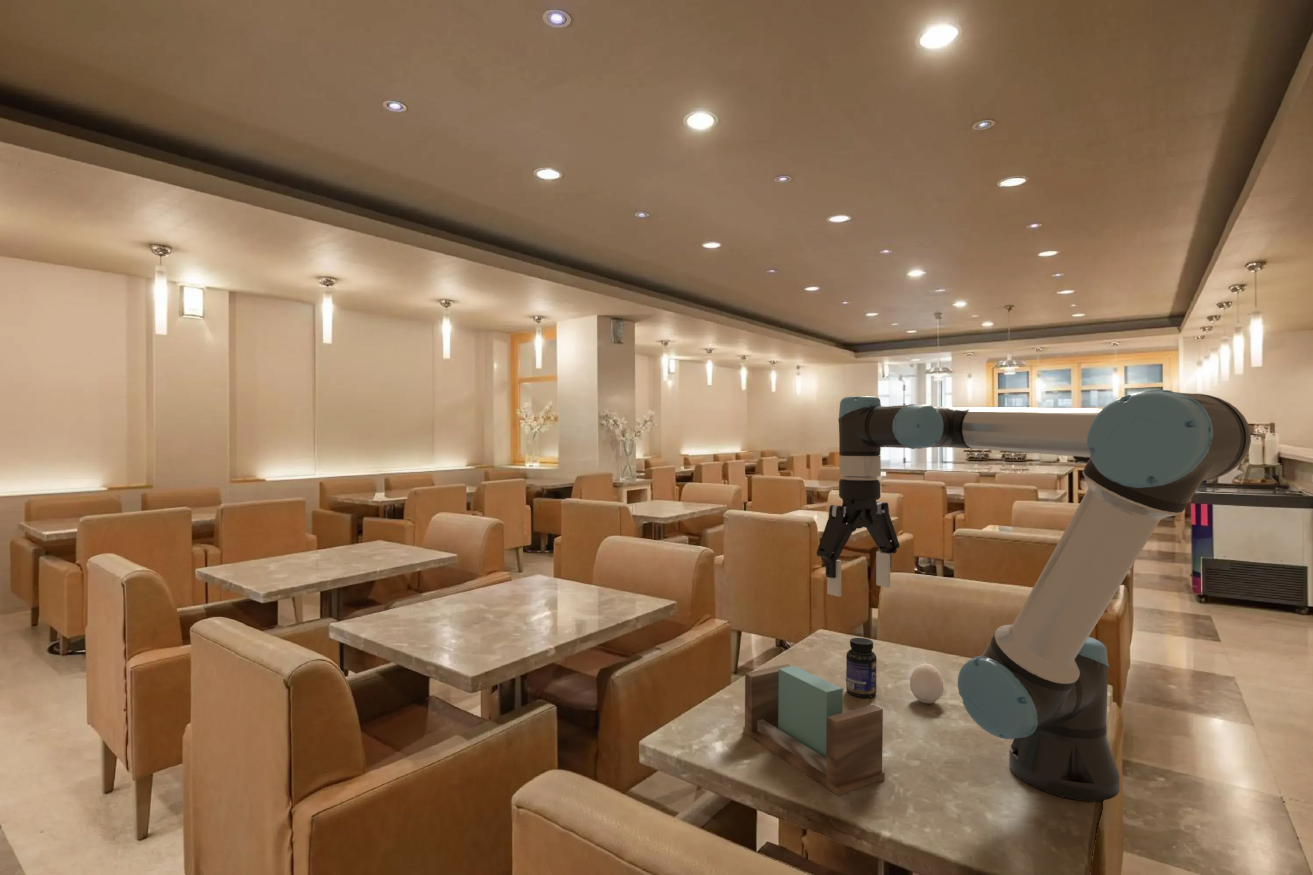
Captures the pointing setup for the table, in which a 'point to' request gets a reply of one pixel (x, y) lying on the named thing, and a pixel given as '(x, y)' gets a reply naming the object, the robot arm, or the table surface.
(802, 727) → the green rectangular box
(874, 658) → the pill bottle
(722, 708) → the table surface
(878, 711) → the wooden desk organizer
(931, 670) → the egg
